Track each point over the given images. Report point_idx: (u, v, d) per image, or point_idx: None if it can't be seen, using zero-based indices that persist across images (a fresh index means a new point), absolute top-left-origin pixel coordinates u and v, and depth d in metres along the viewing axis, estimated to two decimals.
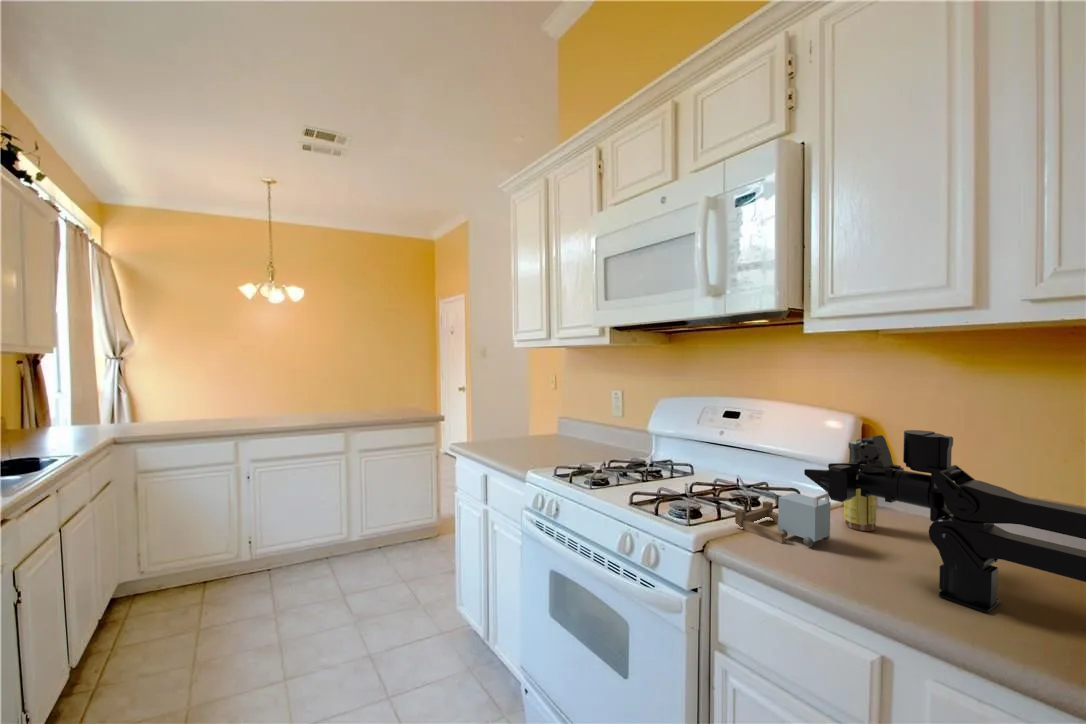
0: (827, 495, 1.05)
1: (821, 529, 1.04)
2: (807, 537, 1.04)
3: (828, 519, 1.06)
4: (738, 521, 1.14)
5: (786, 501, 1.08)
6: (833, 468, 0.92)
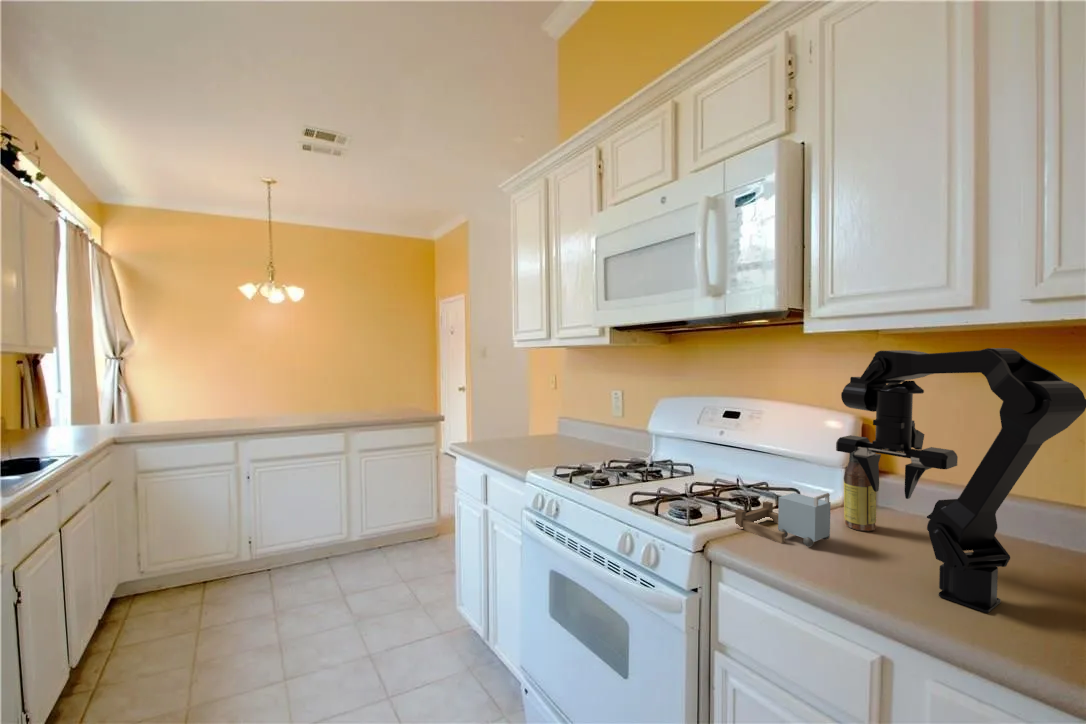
0: (827, 495, 1.05)
1: (821, 529, 1.04)
2: (807, 537, 1.04)
3: (828, 519, 1.06)
4: (738, 521, 1.14)
5: (786, 501, 1.08)
6: None
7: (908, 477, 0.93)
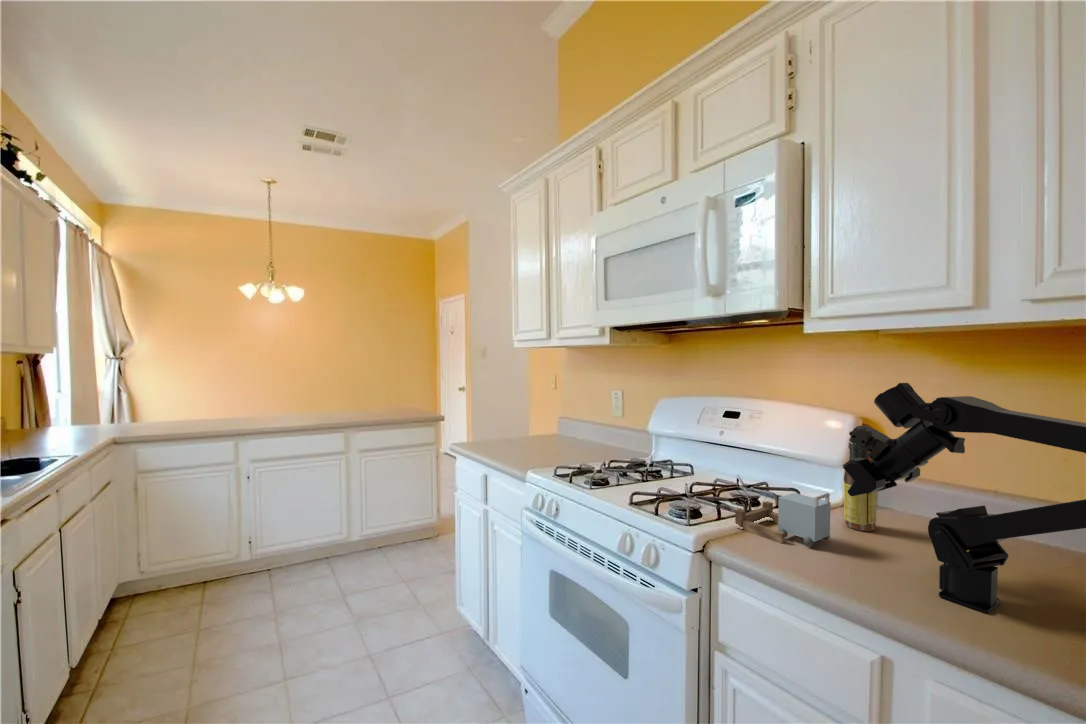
0: (827, 495, 1.05)
1: (821, 529, 1.04)
2: (807, 537, 1.04)
3: (828, 519, 1.06)
4: (738, 521, 1.14)
5: (786, 501, 1.08)
6: (844, 465, 0.92)
7: None
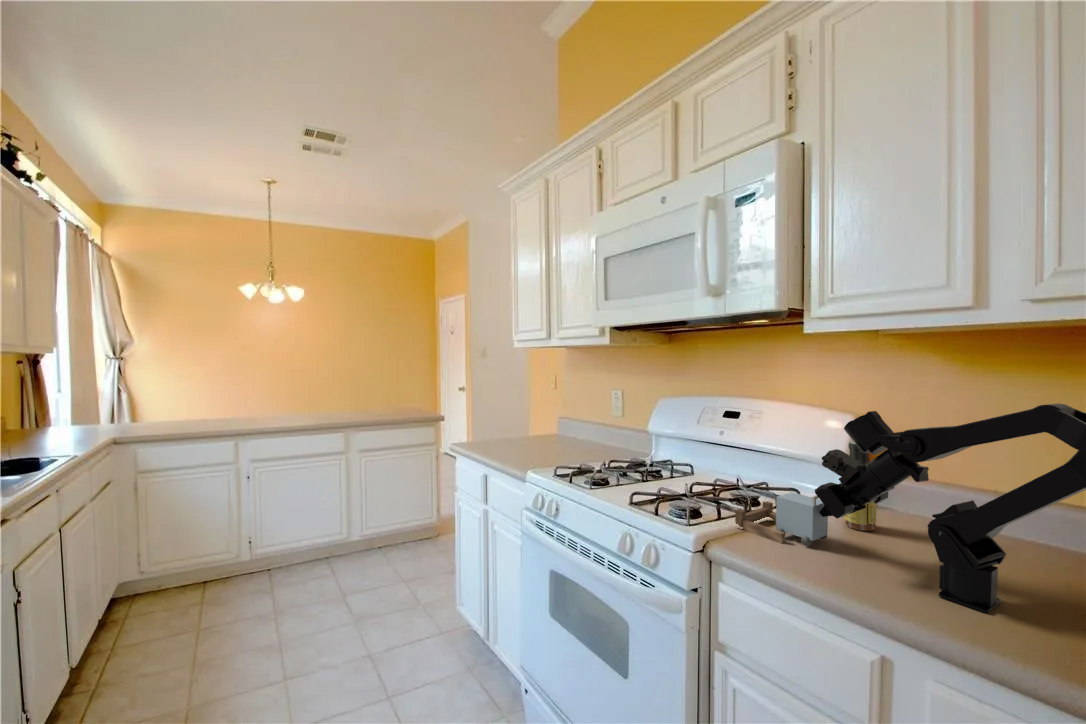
0: None
1: (819, 528, 1.05)
2: (805, 536, 1.04)
3: (826, 518, 1.06)
4: (738, 521, 1.14)
5: (784, 500, 1.08)
6: (816, 489, 0.96)
7: None
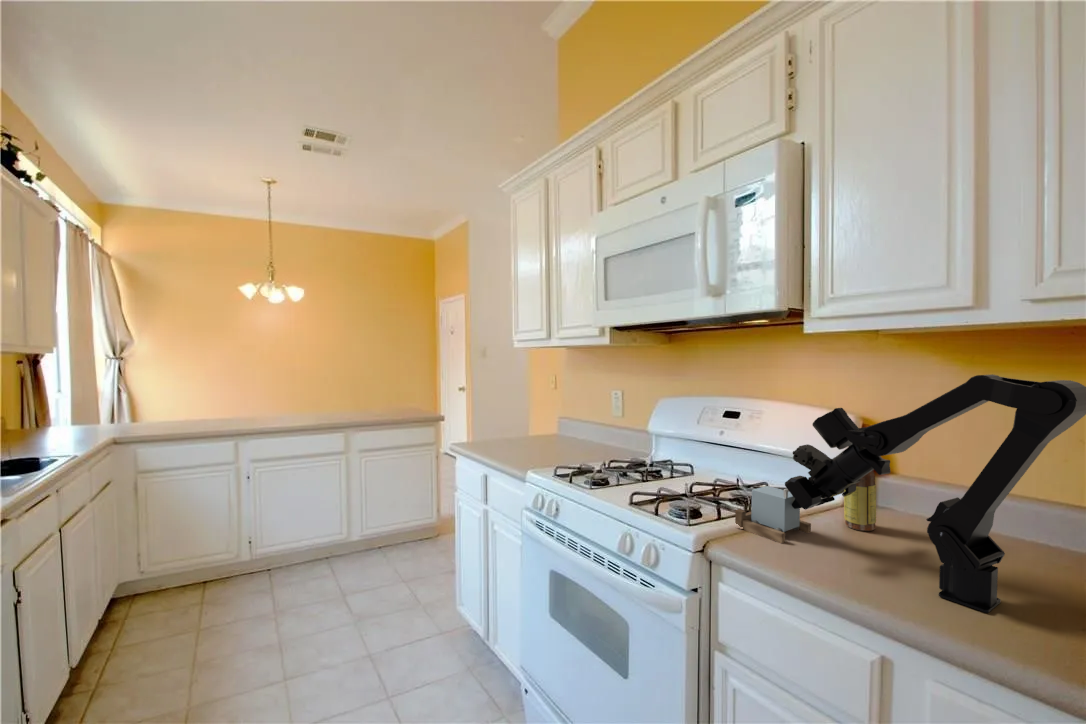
0: None
1: (791, 519, 1.10)
2: (777, 527, 1.09)
3: (798, 510, 1.11)
4: (738, 521, 1.14)
5: (758, 493, 1.13)
6: (786, 482, 1.01)
7: None
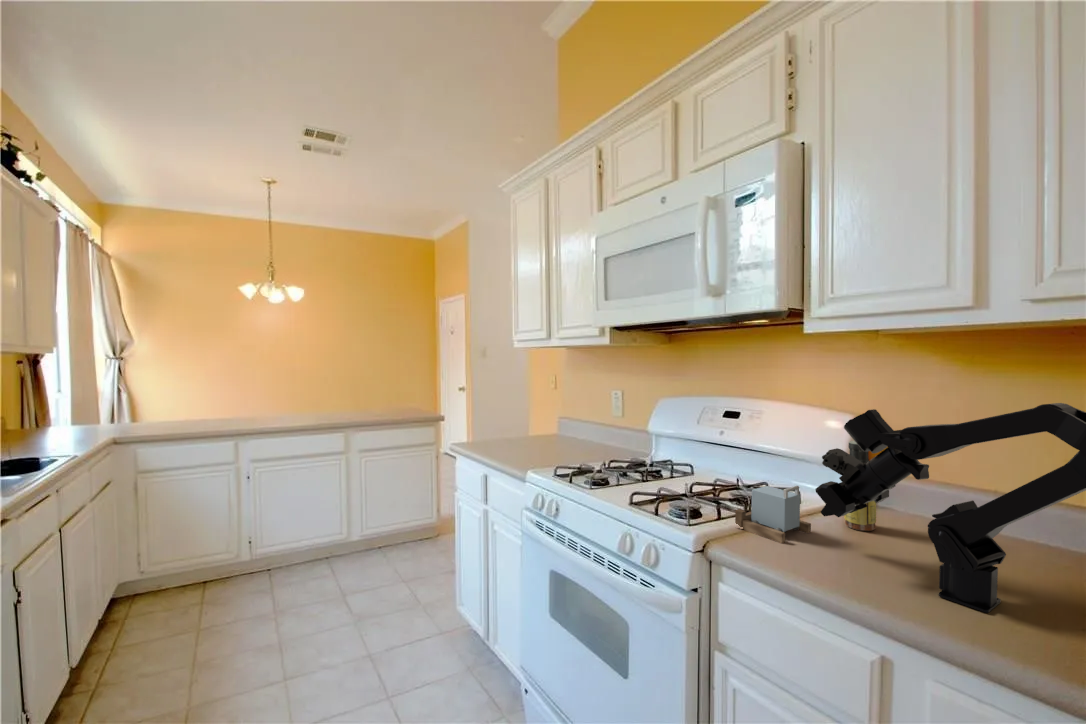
0: (797, 487, 1.11)
1: (791, 519, 1.10)
2: (777, 527, 1.09)
3: (798, 510, 1.11)
4: (738, 521, 1.14)
5: (758, 493, 1.13)
6: (817, 488, 0.96)
7: None
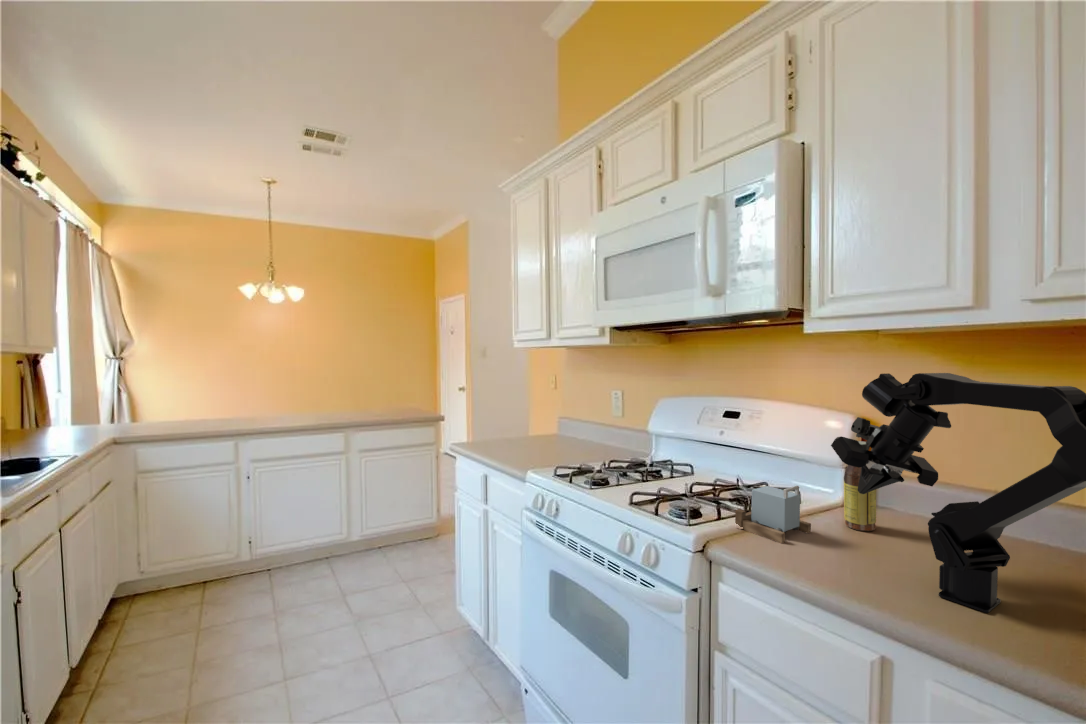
0: (797, 487, 1.11)
1: (791, 519, 1.10)
2: (777, 527, 1.09)
3: (798, 510, 1.11)
4: (738, 521, 1.14)
5: (758, 493, 1.13)
6: (832, 443, 0.99)
7: (883, 484, 0.97)
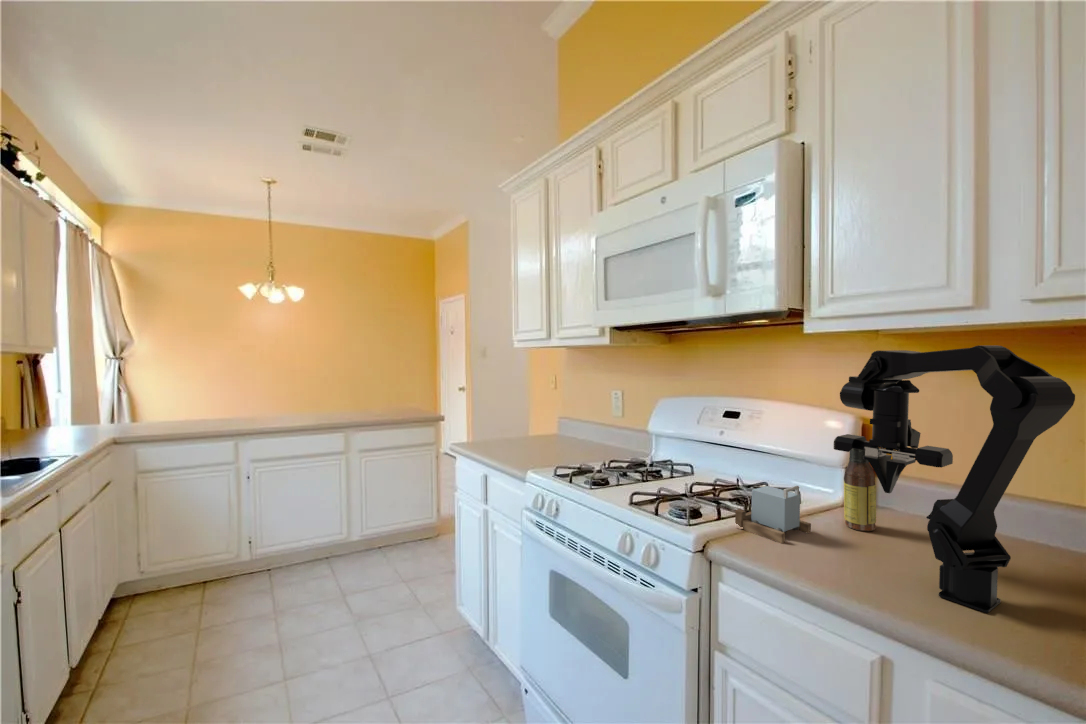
0: (797, 487, 1.11)
1: (791, 519, 1.10)
2: (777, 527, 1.09)
3: (798, 510, 1.11)
4: (738, 521, 1.14)
5: (758, 493, 1.13)
6: None
7: (889, 472, 0.96)
